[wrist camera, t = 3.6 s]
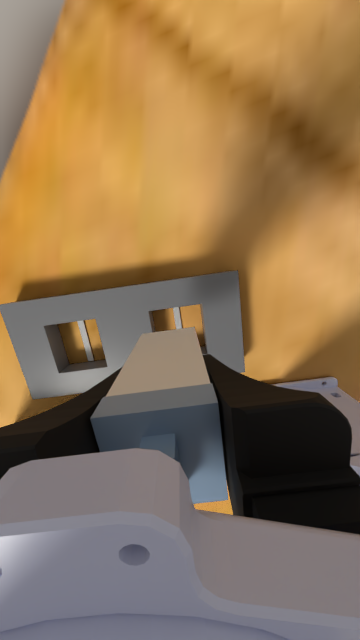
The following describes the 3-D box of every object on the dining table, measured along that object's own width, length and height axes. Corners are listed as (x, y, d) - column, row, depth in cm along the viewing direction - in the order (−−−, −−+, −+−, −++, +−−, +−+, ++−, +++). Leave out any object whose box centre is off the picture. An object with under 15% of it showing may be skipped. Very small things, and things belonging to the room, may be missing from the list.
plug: (195, 325, 13) (224, 423, 5) (201, 375, 14) (234, 530, 6) (140, 333, 14) (76, 441, 5) (150, 381, 14) (109, 544, 6)
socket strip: (232, 270, 20) (237, 270, 18) (239, 363, 22) (244, 372, 20) (15, 301, 20) (-2, 305, 18) (45, 388, 23) (32, 399, 21)
